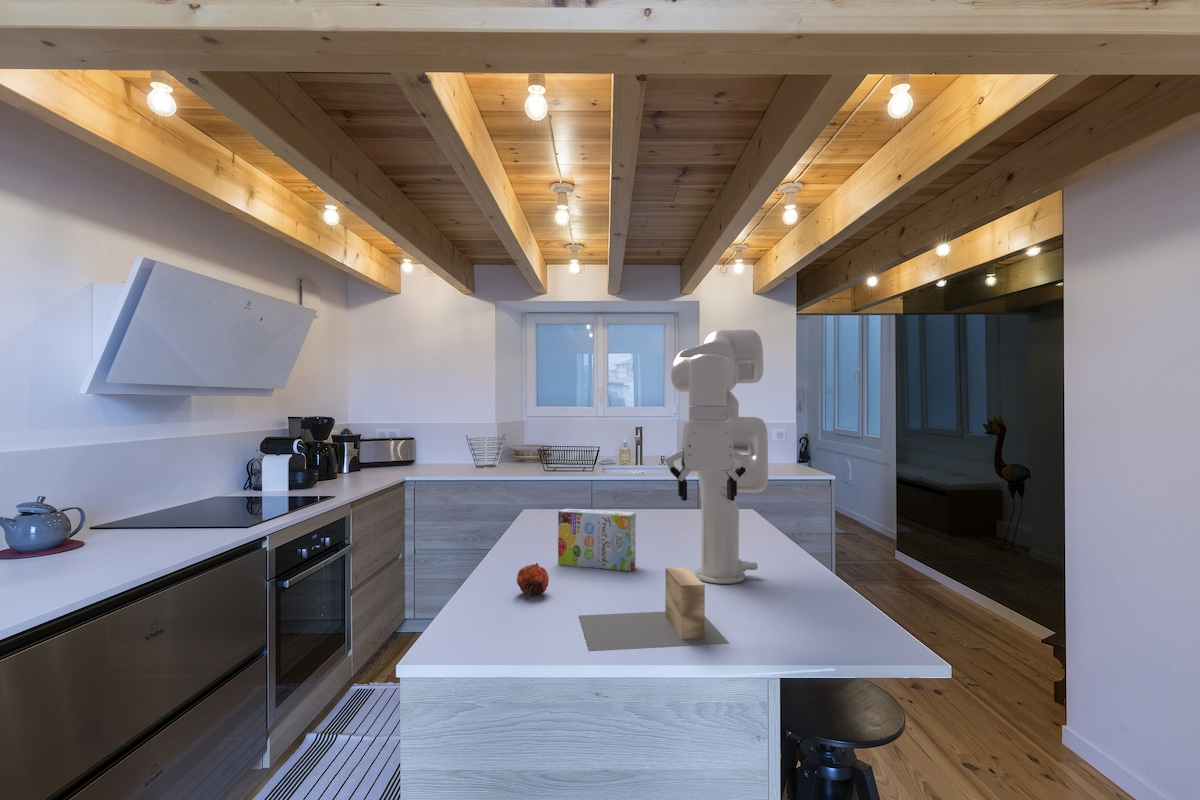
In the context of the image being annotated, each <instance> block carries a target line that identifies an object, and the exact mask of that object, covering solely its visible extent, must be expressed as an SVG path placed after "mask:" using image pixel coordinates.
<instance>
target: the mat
mask: <svg viewBox="0 0 1200 800" xmlns="http://www.w3.org/2000/svg"><path fill="white" fill-rule="evenodd" d="M578 620H580V621H579V623H581V624H580V626H581V629H582V630H583V631H582V633H584V634H583V637H584V640H586V641H585V643H587V644H586V647H588V648H587V650H589V651H588V652H596V651H597V652H598V651H600V652H602V651H615V650H616V651H617V650H634V649H635V650H636V649H637V650H638V649H651V648H652V649H653V648H657V649H658V648H670V647H671V648H673V647H674V648H675V647H688V646H689V647H691V646H705V645H706V646H708V645H710V646H711V645H725V644H726V645H727V644H730V642H729V641H728V640H727V639H726V638H725V636H724V635H723V634H722V633H721V632H720V631H719V630H718V629H717V628H716V626H715V625H714V624H713V623H712V622H711V621H710V620H709V619H708V618H707V617H706V616H705V638H694V639H681V638H680V636H679V635H678V634H677V632H676V631H675V629H674V628H673V627H672V625H671V624H670V622H669V621H668V620H667V618H666V617H665V611H647V612H644V611H643V612H625V613H622V612H621V613H604V614H600V613H599V614H585V615H584V614H583V615H582V614H581V615H578Z"/></svg>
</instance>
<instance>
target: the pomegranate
mask: <svg viewBox="0 0 1200 800" xmlns="http://www.w3.org/2000/svg"><path fill="white" fill-rule="evenodd" d="M516 584H517V586H518V587H519V588H520V591H521V592H522V593H523V594H526V595H527V596H526V601H528V599H529V597H530V595H541V594H543V593H545V591H546V590H547V588H548V586H549V573H548V571H547V570H546V568H544V567H543V566H540V565H539V563H537V562H536V563H534V564H530V565H526V566H523V567H521V569H519V571H518V573H517V576H516Z"/></svg>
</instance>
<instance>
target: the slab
mask: <svg viewBox="0 0 1200 800" xmlns="http://www.w3.org/2000/svg"><path fill="white" fill-rule="evenodd" d="M705 587H706V586H705V583H704V582H703V581H702V580H700V579H698V578H697V577H696V576H695V573H693V572H692V570H690V569H689V568H688V567H686V566H685V567H665V592H664V593H665V595H664V596H665V607H664V608H665V611H664V612H665V617H666V618H667V620H668V621H669V622H670V624H671V625H672V627H673V628H674V629H675V631H676V632H677V634H678V635H679V636H680V638H681V639H694V638H705V617H706V615H705V614H706V605H705V604H706V600H705V598H706V597H705V591H706V590H705V589H706V588H705Z"/></svg>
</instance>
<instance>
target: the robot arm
mask: <svg viewBox="0 0 1200 800" xmlns="http://www.w3.org/2000/svg"><path fill="white" fill-rule="evenodd" d="M763 350H764V349H763V341H762V339H761V337H760V334H758V332H757V331H755V330H754V329H724V330H716V331H713V332H711V333H709V334H708V335H707V336H706V337H705V339H704V341H703V343H701V344H699V345H696V346H693V347H689V348H686V349H683V350H681V351H680V352H679V353H678V354H677V355H676V357H675V358H674V361H673V363H672V367H671V373H670V378H671V383H672V386H673V388H675V390H677V391H678V392H683V393H686V392H687V393H688V421H685V422H684V423H683V424H684V425H683V430H682V436H681V437H682V438H681V449H680V450H679V451H676V452H675V453H672V454H670V455H669V456H667V457H665V458H664V462H665V464H666V467H667V468H668V470H669V472H670V473H671V474H672V475H673V476H674V477H675V478H676V479H677V495H678V496H679V497H680V500H682V501H684V502H686V501H688V481H687V480H686V479H687V476H689V474H690V473H691V472H697V475H698V481H699V482H698V483H699V491H700V502H701V503H700V506H701V507H700V509H701V511H700V512H701V513H700V517H701V518H700V521H701V522H700V523H701V524H700V526H701V527H700V531H701V533H700V535H701V536H700V539H701V541H700V544H701V546H700V549H701V550H700V559H701V560H700V564H701V565H700V567H698V568H697V569H695V572H694V575H695V576H696V577H697V578H698V579H699V580H700V581H701V582H707V583H711V584H712V583H713V584H720V585H721V584H722V585H724V584H725V585H727V584H729V585H731V584H737V583H741V582H743V581H744V580H745V579H746V574H745V572H746V571H757V570H758V562H756V561H754V562H753V561H752V562H751V561H748V560H742V559H740V511H739V510H740V509H739V505H737V502H736V501H735V499H736V498H735V497H737V495H738V493H762V492H764V491H765V490H766V488H767V487H768V482H769V446H768V445H769V442H768V441H769V438H768V437H769V436H768V429H767V424H766V422H765V421H764V420H763V419H762V418H760V417H757V416H739V414H740V413H739V408H740V407H739V406H740V403H739V401H738V399H737V397H736V396H735V395H734V393H733V392H732V390H733V389H734V388H735V387H736V386H737V384H756V383H758V382H760V380H761V379H762V377H763V374H764V351H763ZM677 460H680V465H681V469H680V470H678V468H677V467H676V465H675V463H674V462H676V461H677Z"/></svg>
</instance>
